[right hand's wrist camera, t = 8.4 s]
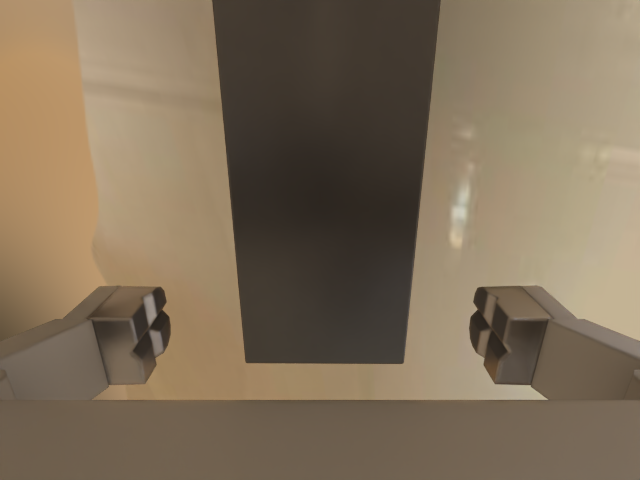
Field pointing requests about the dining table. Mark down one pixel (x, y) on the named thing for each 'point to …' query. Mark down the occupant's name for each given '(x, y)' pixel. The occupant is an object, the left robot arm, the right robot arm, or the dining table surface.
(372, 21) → the bar
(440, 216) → the dining table surface
